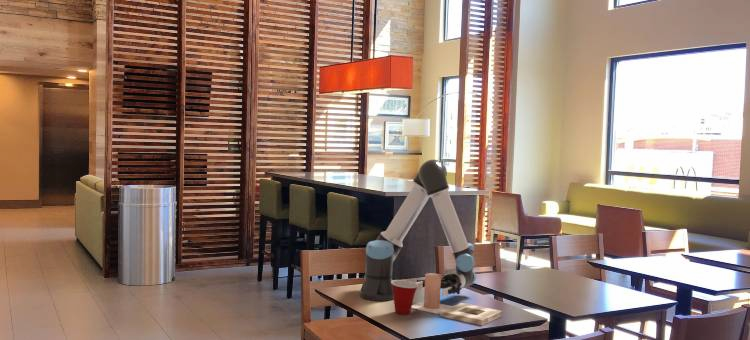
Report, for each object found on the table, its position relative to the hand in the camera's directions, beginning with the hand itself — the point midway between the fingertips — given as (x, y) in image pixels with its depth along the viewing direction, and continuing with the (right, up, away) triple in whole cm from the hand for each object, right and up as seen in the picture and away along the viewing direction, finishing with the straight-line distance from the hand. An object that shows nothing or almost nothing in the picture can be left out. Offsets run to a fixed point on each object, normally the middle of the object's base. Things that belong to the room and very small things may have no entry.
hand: (428, 289), depth 259 cm
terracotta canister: (+2, -7, +3) cm, 8 cm away
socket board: (+16, -9, -7) cm, 20 cm away
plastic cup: (-10, -8, -7) cm, 15 cm away
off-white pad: (+1, -8, +3) cm, 8 cm away
